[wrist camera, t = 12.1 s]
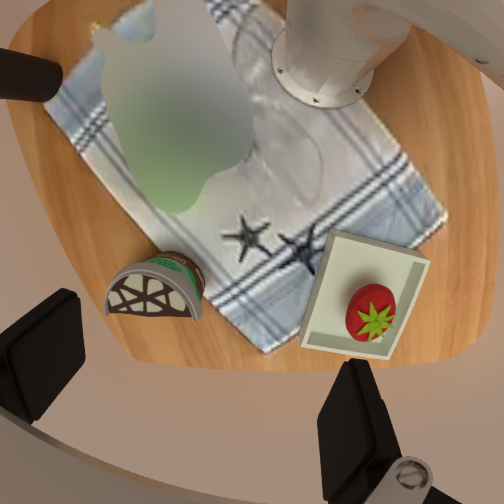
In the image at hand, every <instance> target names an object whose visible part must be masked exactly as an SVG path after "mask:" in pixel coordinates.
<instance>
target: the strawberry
mask: <svg viewBox="0 0 504 504" xmlns="http://www.w3.org/2000/svg"><path fill="white" fill-rule="evenodd" d="M395 312H396V303H395V298H394V295H393V293H392V291H391V290H390V289H389V288H387V287H385V286H383V285H381V284H377V283H372V284H368V285H365V286H363V287H362V288H360V289H359V290H358V291H357V292H356V293H355V294H354V295H353V297H352V298H351V300H350V302H349V304H348V308H347V312H346V317H345V325H346V328H347V331H348V332H349V334H350V335H351V337H352V338H354V339H355V340H357V341H360V342H368V343H369V341H372V340H374V339H376V338H378V337H379V336H382V337H383V338H384V335H383V333H384V332H385V331H386V330H387V329H388V328H393V327H394V326H392V325H391V323H392V321H393V319H394V316H396V314H395Z"/></svg>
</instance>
